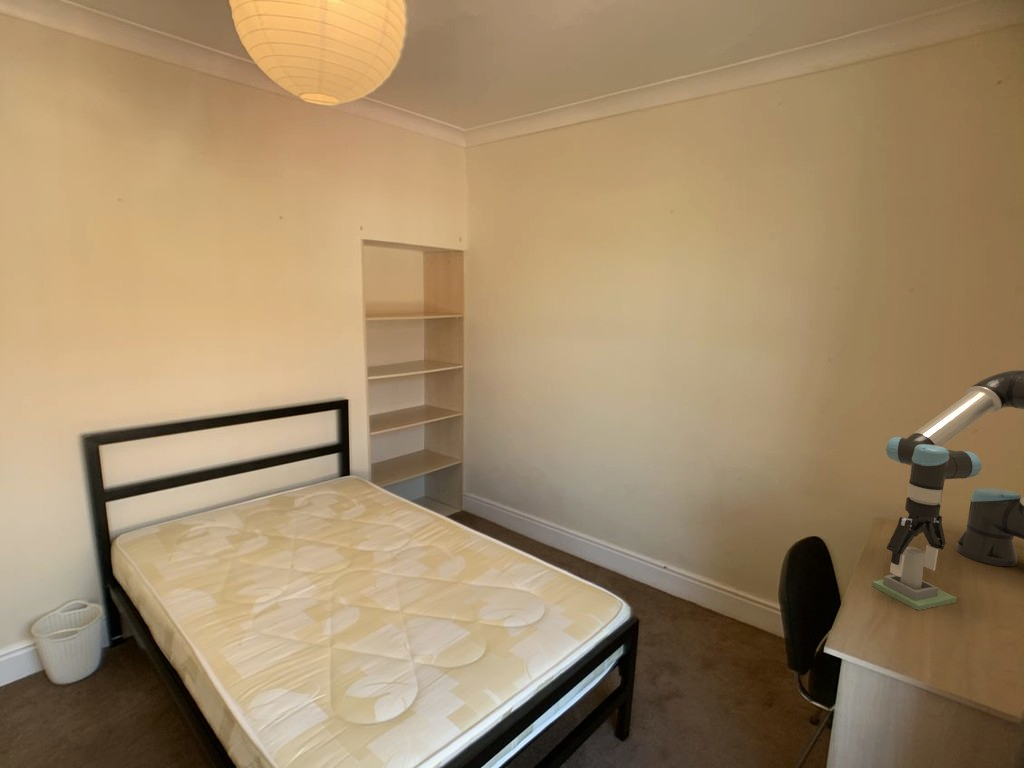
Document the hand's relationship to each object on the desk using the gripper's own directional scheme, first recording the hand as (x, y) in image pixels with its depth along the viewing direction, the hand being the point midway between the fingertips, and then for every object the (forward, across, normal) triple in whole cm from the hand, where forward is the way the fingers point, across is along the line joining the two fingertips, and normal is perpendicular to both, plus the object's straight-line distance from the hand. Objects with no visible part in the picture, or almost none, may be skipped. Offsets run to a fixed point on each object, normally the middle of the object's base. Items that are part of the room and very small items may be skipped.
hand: (912, 571), depth 146 cm
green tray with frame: (+7, -2, 0) cm, 7 cm away
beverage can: (+6, 0, 0) cm, 6 cm away
